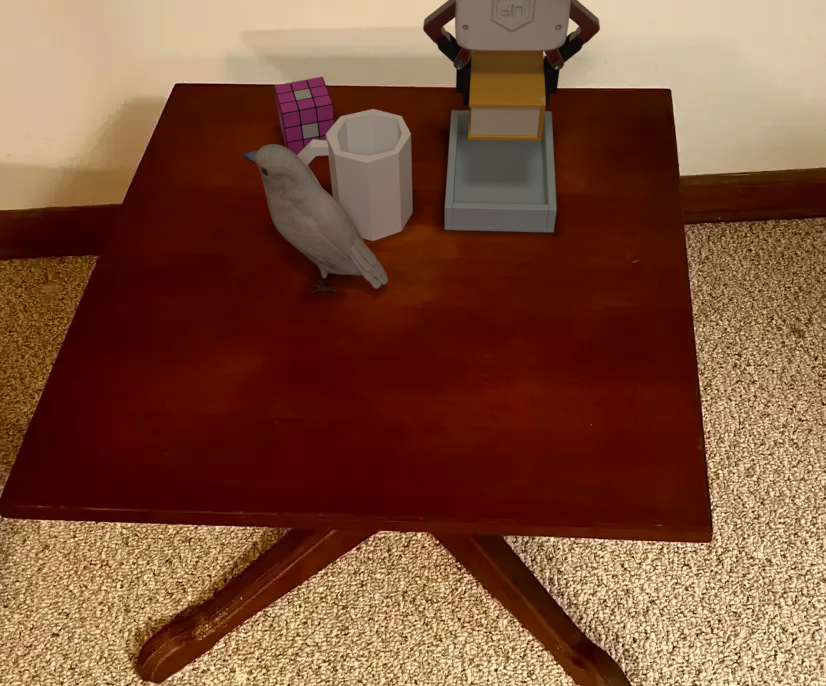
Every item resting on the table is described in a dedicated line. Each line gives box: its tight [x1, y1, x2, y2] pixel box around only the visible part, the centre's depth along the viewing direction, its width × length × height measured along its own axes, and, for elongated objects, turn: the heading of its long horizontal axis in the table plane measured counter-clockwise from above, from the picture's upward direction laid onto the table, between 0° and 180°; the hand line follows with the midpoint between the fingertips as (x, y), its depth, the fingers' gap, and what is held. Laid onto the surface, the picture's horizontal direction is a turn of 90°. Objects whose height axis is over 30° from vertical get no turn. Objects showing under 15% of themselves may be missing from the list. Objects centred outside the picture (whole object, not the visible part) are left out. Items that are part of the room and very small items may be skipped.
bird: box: [241, 143, 389, 295], centre depth 81 cm, size 5×14×15 cm, turn 67°
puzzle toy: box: [273, 76, 336, 155], centre depth 99 cm, size 6×6×6 cm
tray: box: [443, 109, 558, 233], centre depth 93 cm, size 11×17×3 cm
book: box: [468, 51, 546, 141], centre depth 86 cm, size 12×7×4 cm, turn 174°
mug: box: [297, 108, 414, 242], centre depth 88 cm, size 12×9×10 cm
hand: (505, 97), depth 86 cm, fingers closed on book, 7 cm apart
